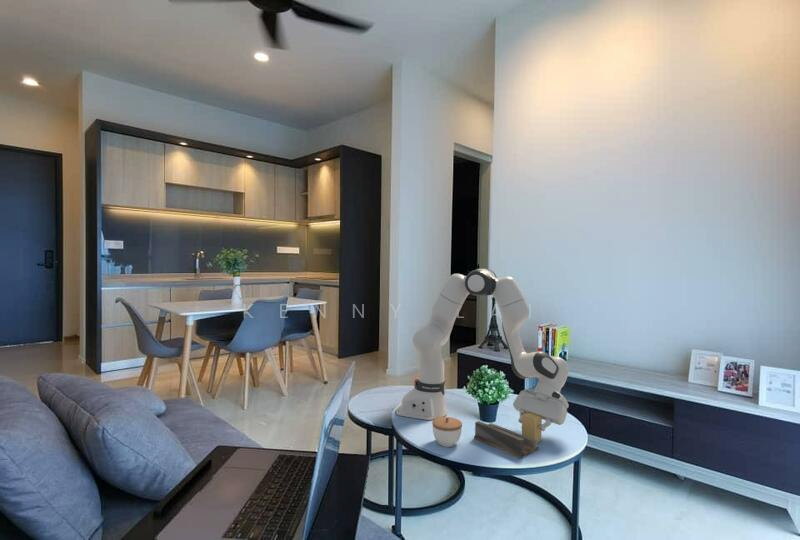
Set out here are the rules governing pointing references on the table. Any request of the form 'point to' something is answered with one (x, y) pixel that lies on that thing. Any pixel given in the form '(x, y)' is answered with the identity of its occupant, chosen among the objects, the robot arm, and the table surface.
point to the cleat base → (504, 439)
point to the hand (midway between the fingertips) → (530, 426)
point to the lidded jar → (447, 430)
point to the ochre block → (531, 426)
